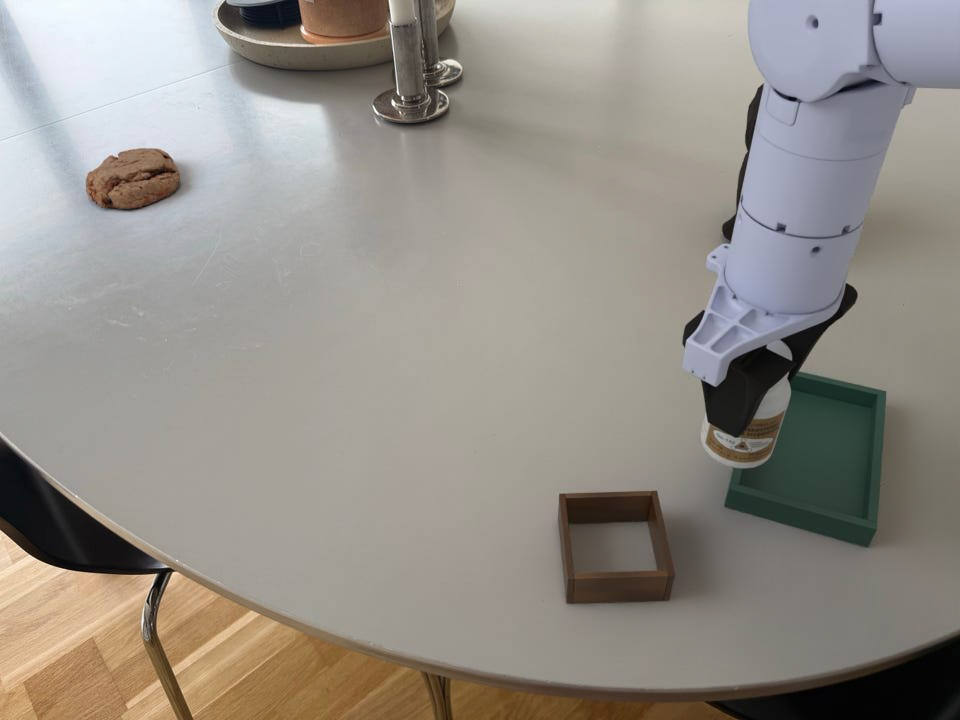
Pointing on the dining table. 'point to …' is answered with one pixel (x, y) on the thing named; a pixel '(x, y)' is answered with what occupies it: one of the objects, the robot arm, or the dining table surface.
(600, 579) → the wooden frame
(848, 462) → the tray
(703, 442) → the pill bottle
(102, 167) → the cookie
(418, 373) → the dining table surface
